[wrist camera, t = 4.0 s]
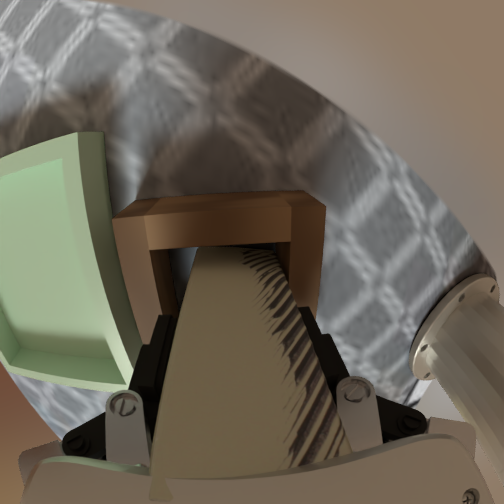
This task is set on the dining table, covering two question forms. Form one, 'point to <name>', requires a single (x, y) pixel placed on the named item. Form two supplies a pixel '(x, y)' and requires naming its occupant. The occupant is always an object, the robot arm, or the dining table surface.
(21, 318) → the tray
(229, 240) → the frame
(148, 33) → the dining table surface
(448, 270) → the dining table surface
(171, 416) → the box
